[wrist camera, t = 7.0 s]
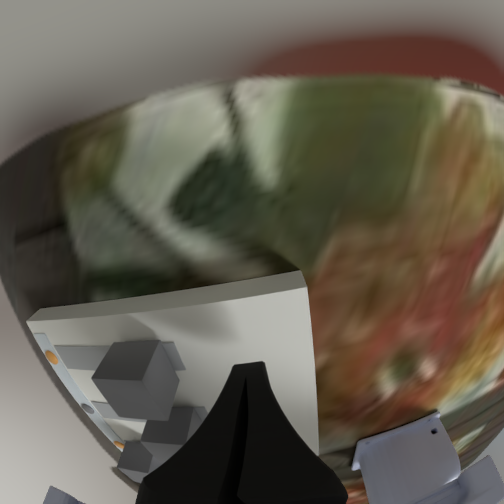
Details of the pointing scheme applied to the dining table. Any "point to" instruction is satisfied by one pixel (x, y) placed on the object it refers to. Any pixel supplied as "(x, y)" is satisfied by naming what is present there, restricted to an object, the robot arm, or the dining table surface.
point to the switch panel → (192, 346)
